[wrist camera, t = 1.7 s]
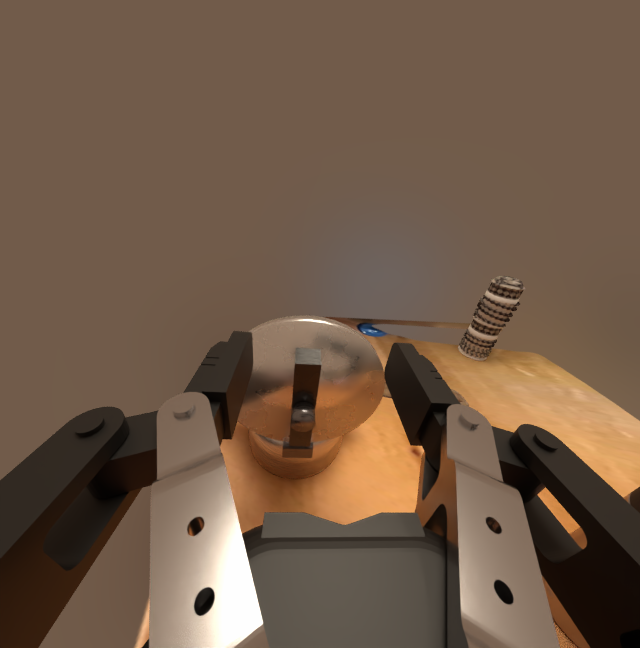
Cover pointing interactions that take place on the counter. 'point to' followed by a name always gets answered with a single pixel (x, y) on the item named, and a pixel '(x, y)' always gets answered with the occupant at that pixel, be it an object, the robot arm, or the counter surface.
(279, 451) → the cooker pot
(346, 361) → the cooker lid
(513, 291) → the decorative candle
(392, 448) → the counter surface
